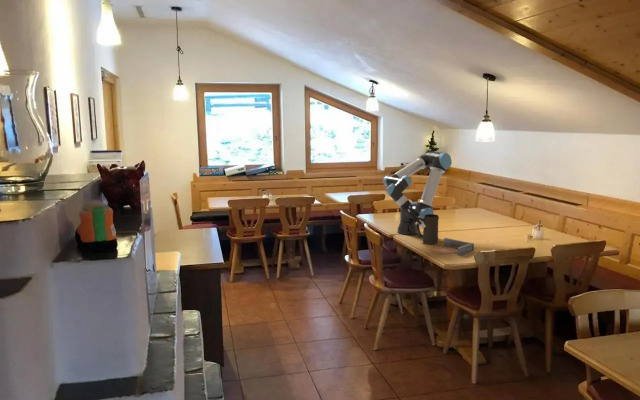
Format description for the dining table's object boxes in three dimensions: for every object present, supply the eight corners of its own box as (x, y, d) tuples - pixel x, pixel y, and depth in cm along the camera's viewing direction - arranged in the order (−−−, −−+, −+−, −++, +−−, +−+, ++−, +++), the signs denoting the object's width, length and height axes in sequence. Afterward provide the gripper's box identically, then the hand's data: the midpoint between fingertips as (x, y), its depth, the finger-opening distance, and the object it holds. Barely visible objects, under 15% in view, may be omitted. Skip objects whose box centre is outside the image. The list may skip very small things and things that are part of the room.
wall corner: (445, 244, 349) (445, 237, 348) (473, 250, 334) (473, 243, 333) (431, 249, 336) (431, 242, 335) (459, 256, 321) (460, 248, 321)
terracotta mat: (441, 246, 345) (441, 245, 345) (462, 250, 334) (462, 250, 334) (428, 250, 334) (428, 249, 333) (450, 255, 323) (450, 254, 323)
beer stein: (436, 240, 359) (436, 213, 356) (441, 244, 349) (440, 216, 346) (415, 242, 359) (414, 214, 356) (418, 246, 348) (418, 217, 345)
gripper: (400, 203, 365) (420, 225, 364) (398, 209, 340) (420, 232, 340) (408, 196, 363) (428, 218, 362) (407, 202, 338) (428, 225, 338)
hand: (424, 225), depth 351 cm, fingers open, 13 cm apart
